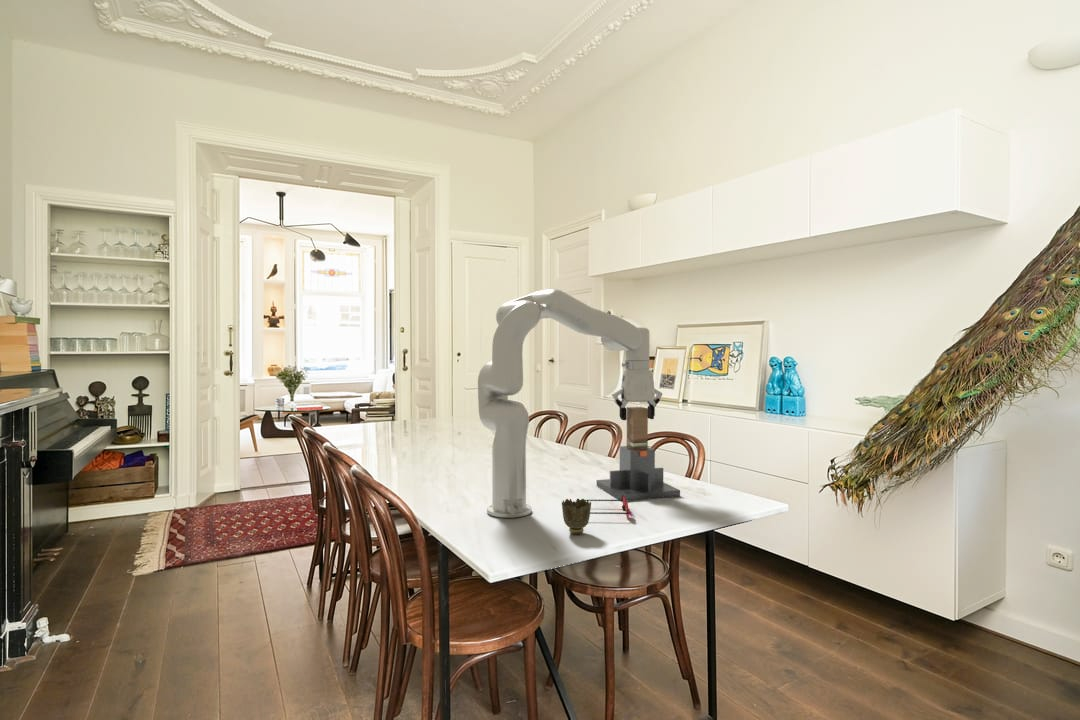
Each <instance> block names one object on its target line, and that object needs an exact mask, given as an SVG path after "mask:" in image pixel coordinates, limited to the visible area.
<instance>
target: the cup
mask: <svg viewBox="0 0 1080 720" xmlns="http://www.w3.org/2000/svg"><path fill="white" fill-rule="evenodd" d="M585 500H587V501H585ZM588 500H589V499H585V498H581V499H579V498H577V499H576V500H575V501H574V500H572V498H570V499H568V498H566V499H565V500H562V501H561V510H562V517H563V521H564V524H565V525H566V527H568V528H569V529H568V531H569V533H570V534H571V535H575V536H579V535H582V534H583V533H584V532H585V530H584V528H585V527H587V525H588V524H589V521H590V517H591V514H590V512H591V508H592V501H588Z"/></svg>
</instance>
